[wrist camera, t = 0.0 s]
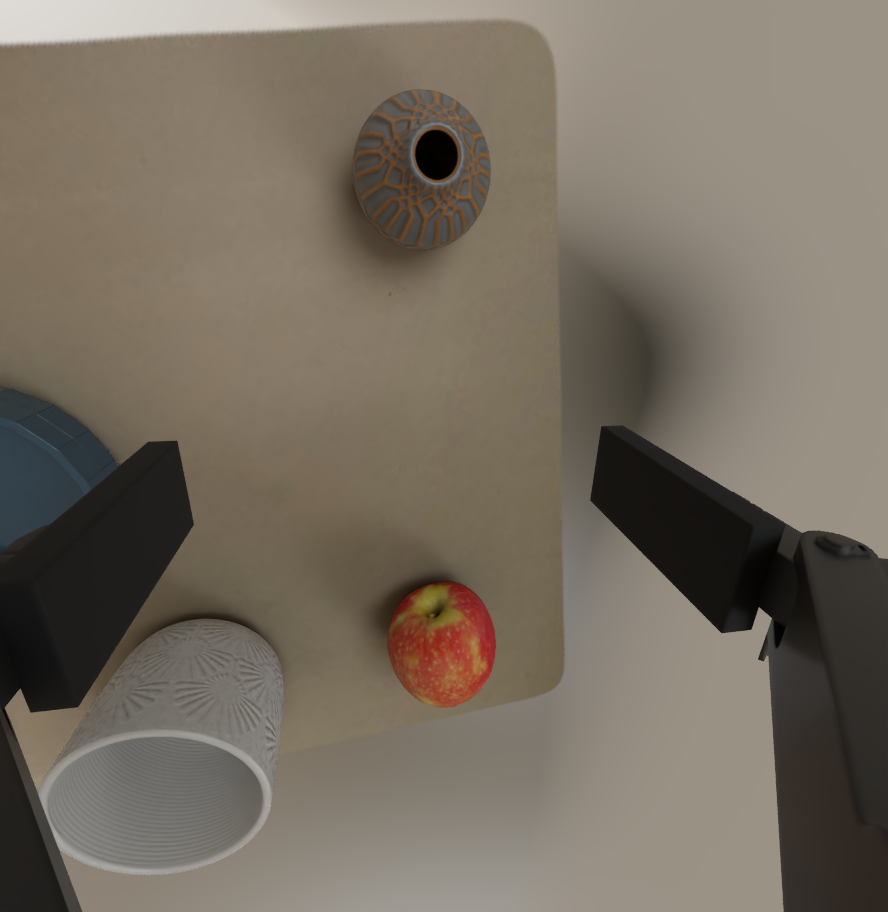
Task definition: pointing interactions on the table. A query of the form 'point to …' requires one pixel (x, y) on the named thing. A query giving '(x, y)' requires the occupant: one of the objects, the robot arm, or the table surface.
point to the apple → (442, 644)
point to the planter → (172, 754)
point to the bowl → (43, 464)
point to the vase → (421, 169)
